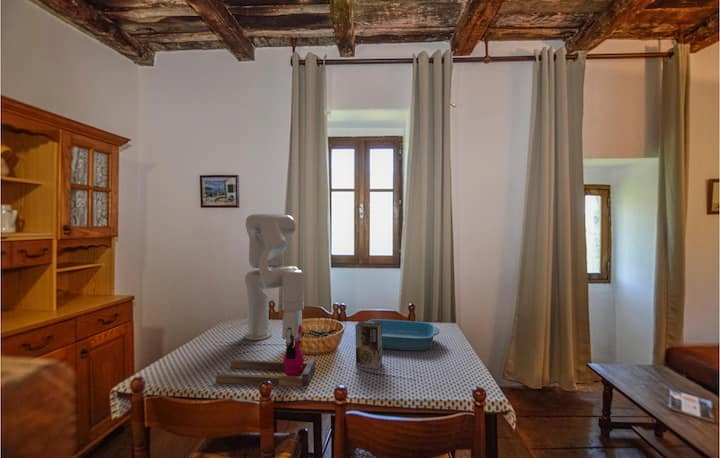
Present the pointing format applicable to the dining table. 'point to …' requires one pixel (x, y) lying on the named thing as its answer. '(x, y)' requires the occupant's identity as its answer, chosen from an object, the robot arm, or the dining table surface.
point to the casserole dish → (407, 334)
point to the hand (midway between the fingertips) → (293, 354)
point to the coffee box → (368, 344)
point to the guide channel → (275, 380)
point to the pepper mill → (295, 364)
